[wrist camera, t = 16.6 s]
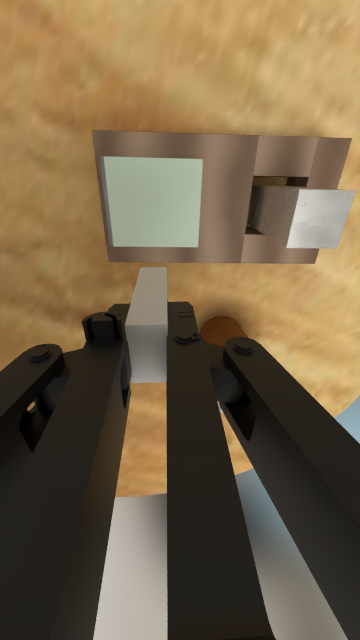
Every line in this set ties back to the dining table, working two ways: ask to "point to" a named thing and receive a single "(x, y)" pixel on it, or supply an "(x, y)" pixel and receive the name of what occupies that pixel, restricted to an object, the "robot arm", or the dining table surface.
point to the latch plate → (152, 201)
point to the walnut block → (228, 188)
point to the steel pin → (300, 214)
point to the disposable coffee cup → (221, 332)
